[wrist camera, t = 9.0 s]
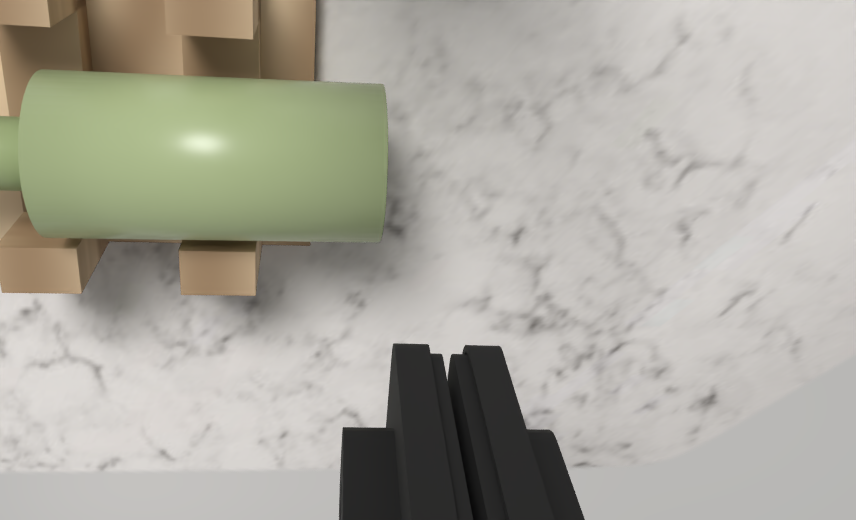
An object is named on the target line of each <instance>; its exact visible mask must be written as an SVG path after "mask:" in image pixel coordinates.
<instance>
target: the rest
mask: <svg viewBox="0 0 856 520" xmlns="http://www.w3.org/2000/svg"><path fill="white" fill-rule="evenodd" d="M315 19H316V0H0V116H14V117H20V111H21V105H22V100H23V96H24V93H25V90H26V87H27V84H28V82H29V80H30V79H31V77H32V75H33V74H34V73H35V72H36V71H38V70H41V69H48V70H71V71H94V72H116V73H139V74H162V75H185V76H208V77H231V78H254V79H277V80H300V81H314V63H315ZM0 239H1V240H0V283H1V289H2V293H72V294H82V292H83V290H84V288H85V286H86V284H87V282H88V281H89V279H90V277H91V275H92V273H93V271H94V269H95V267H96V266H97V264H98V262H99V260H100V258H101V256H102V254H103V252H104V251H105V249H106V247H107V245H108V243H109V241H114V242H160V243H181V245H180V248H179V268H180V285H181V295H242V296H256V289H257V281H258V273H259V265H260V257H261V250H262V245H301V246H310V242H297V241H226V240H154V239H82V238H44V237H42V236H41V235H40V234H39V233H38V232H37V231H36V230H35V228H34V226H33V224H32V223H31V220H30V218H29V216H28V213H27V210H26V206H25V202H24V198H23V194H22V191H0Z"/></svg>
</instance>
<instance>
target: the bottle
mask: <svg viewBox="0 0 856 520" xmlns="http://www.w3.org/2000/svg"><path fill="white" fill-rule="evenodd" d="M387 171H388V121H387V103H386V94H385V88H384V85H383V84H369V83H346V82H323V81H300V80H277V79H254V78H231V77H208V76H185V75H162V74H139V73H116V72H94V71H71V70H48V69H41V70H38V71H36V72H35V73H34V74H33V75H32V77H31V79H30V80H29V82H28V84H27V87H26V90H25V93H24V96H23V100H22V105H21V111H20V117H14V116H0V191H22V194H23V198H24V202H25V206H26V210H27V213H28V216H29V218H30V220H31V223H32V224H33V226H34V228H35V230H36V231H37V232H38V233H39V234H40V235H41V236H42V237H44V238H82V239H154V240H226V241H297V242H369V243H379V242H380V241H381V238H382V234H383V227H384V219H385V208H386V194H387Z"/></svg>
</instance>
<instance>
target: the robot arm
mask: <svg viewBox="0 0 856 520" xmlns="http://www.w3.org/2000/svg"><path fill="white" fill-rule="evenodd" d="M339 520H585V519H584V516H583V514H582V511H581V508H580V505H579V502H578V499H577V497H576V494H575V491H574V488H573V485H572V483H571V480H570V477H569V474H568V471H567V468H566V465H565V463H564V460H563V457H562V454H561V451H560V448H559V446H558V443H557V440H556V438H555V436H554V434H553V432H552V431H550V430H527V429H526V426H525V423H524V419H523V416H522V413H521V410H520V406H519V403H518V400H517V397H516V393H515V390H514V387H513V384H512V380H511V377H510V374H509V371H508V367H507V364H506V361H505V358H504V354H503V351H502V349H501V347H500V346H477V345H465V347H464V349H463V354H452V355H451V358H450V364H449V373H448V381H447V377H446V372H445V367H444V361H443V356H442V354H430V348H429V345H428V344H393V349H392V359H391V371H390V384H389V396H388V409H387V422H386V428H354V427H343V432H342V450H341V471H340V500H339Z"/></svg>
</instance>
